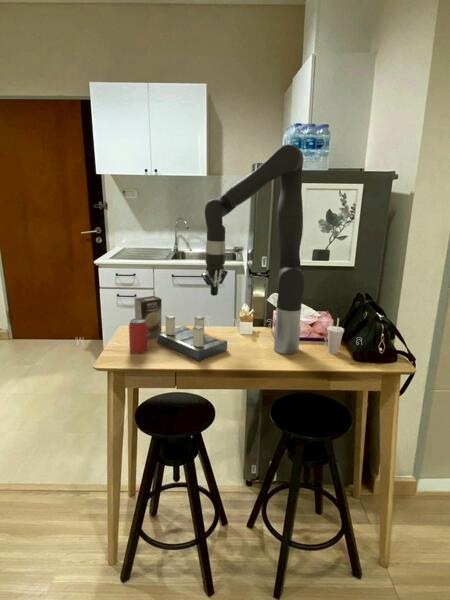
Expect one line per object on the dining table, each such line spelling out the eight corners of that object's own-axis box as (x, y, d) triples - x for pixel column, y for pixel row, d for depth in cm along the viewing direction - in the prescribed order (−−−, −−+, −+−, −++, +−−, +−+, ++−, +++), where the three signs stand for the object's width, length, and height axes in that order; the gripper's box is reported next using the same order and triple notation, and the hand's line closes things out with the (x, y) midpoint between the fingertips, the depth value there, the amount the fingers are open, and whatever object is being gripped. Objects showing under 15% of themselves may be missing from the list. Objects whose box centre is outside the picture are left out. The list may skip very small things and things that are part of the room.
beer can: (130, 347, 157) (129, 318, 153) (147, 346, 158) (146, 317, 154) (129, 354, 150) (128, 323, 147) (147, 353, 152) (146, 323, 148)
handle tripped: (198, 332, 162) (199, 315, 160) (204, 334, 160) (204, 317, 158) (194, 333, 161) (194, 317, 159) (199, 335, 159) (199, 318, 157)
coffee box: (142, 340, 164) (141, 302, 159) (135, 335, 169) (133, 298, 164) (162, 335, 170) (161, 298, 165) (154, 331, 174) (153, 295, 170)
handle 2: (197, 343, 151) (198, 325, 150) (203, 345, 150) (203, 327, 148) (193, 344, 150) (193, 327, 148) (198, 347, 148) (198, 329, 146)
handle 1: (170, 331, 162) (170, 315, 160) (175, 333, 160) (175, 317, 158) (165, 333, 160) (165, 316, 158) (170, 335, 158) (170, 318, 156)
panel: (185, 334, 172) (185, 324, 171) (227, 350, 156) (227, 340, 155) (157, 343, 161) (157, 333, 160) (198, 362, 146) (198, 351, 145)
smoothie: (342, 356, 155) (346, 321, 151) (324, 354, 156) (328, 319, 152) (340, 349, 161) (344, 316, 157) (324, 348, 162) (327, 314, 158)
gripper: (210, 255, 150) (208, 300, 155) (234, 251, 159) (232, 294, 164) (196, 252, 155) (195, 296, 160) (220, 249, 164) (218, 290, 169)
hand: (214, 295), depth 162 cm, fingers closed
